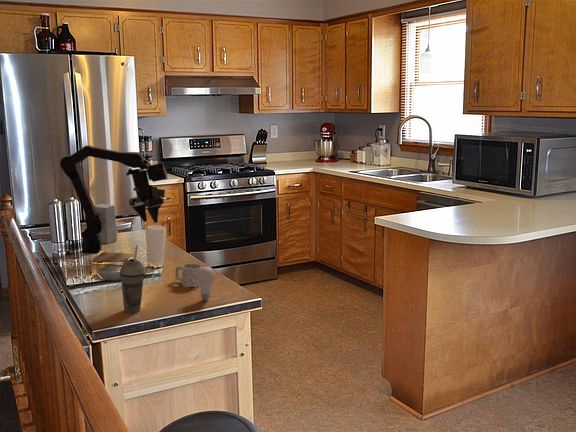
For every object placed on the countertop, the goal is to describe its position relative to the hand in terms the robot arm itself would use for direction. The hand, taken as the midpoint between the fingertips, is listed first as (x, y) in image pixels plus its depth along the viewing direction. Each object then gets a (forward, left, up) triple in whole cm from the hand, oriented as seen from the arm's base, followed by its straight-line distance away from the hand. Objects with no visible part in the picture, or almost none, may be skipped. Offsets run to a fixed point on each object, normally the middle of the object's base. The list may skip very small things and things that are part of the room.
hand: (150, 222), depth 237 cm
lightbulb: (+29, -53, -13) cm, 62 cm away
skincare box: (-23, +16, -13) cm, 31 cm away
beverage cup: (+9, -65, -13) cm, 67 cm away
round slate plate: (-5, -31, -13) cm, 34 cm away
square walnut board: (-11, -13, -13) cm, 22 cm away
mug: (+21, -37, -13) cm, 45 cm away
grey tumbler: (+6, -19, -13) cm, 23 cm away
